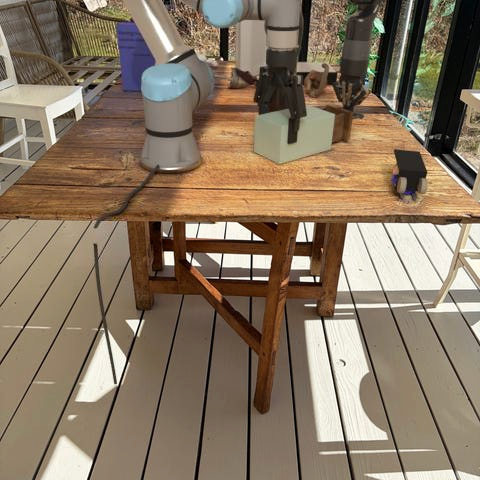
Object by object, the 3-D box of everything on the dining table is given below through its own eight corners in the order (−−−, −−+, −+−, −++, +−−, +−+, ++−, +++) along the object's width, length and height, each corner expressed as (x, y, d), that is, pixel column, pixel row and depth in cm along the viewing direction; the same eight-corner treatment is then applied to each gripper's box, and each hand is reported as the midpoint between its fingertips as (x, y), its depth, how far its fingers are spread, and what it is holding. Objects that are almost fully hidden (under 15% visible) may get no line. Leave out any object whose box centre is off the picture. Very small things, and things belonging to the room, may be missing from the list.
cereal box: (169, 88, 189) (165, 22, 177) (167, 91, 185) (163, 24, 172) (126, 87, 190) (119, 21, 177) (123, 90, 186) (115, 23, 173)
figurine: (210, 87, 179) (288, 95, 182) (212, 65, 176) (291, 73, 180) (208, 84, 201) (278, 91, 205) (210, 64, 198) (280, 71, 202)
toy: (173, 75, 210) (172, 58, 207) (149, 64, 228) (148, 49, 224) (220, 69, 222) (220, 53, 218) (194, 59, 239) (193, 45, 236)
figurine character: (424, 210, 105) (414, 176, 117) (433, 180, 100) (421, 147, 112) (393, 207, 106) (386, 174, 118) (400, 178, 101) (392, 146, 113)
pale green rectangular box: (304, 138, 140) (307, 104, 135) (330, 149, 133) (335, 114, 128) (253, 151, 131) (254, 115, 126) (279, 164, 123) (281, 126, 118)
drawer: (339, 127, 147) (342, 101, 142) (363, 136, 140) (367, 108, 136) (281, 142, 135) (282, 114, 130) (304, 152, 128) (307, 123, 124)
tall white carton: (273, 76, 210) (276, 6, 196) (239, 77, 209) (240, 6, 194) (266, 67, 226) (268, 2, 212) (235, 67, 225) (235, 1, 210)
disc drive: (294, 84, 198) (295, 72, 195) (288, 72, 217) (289, 61, 215) (336, 84, 198) (337, 72, 196) (326, 73, 218) (327, 61, 215)
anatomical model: (314, 99, 193) (314, 101, 179) (299, 84, 192) (297, 84, 178) (337, 75, 188) (338, 74, 174) (321, 59, 188) (321, 57, 173)
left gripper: (327, 54, 109) (318, 146, 120) (263, 40, 125) (260, 122, 136) (303, 57, 105) (296, 152, 116) (240, 42, 121) (239, 127, 132)
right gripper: (383, 59, 128) (372, 122, 137) (346, 51, 137) (339, 111, 146) (364, 62, 124) (355, 126, 133) (328, 53, 133) (321, 115, 142)
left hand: (277, 136), depth 126 cm, fingers closed on pale green rectangular box, 11 cm apart
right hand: (346, 118), depth 140 cm, fingers closed
